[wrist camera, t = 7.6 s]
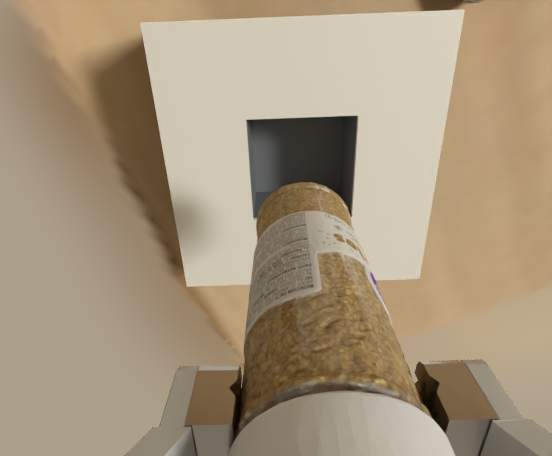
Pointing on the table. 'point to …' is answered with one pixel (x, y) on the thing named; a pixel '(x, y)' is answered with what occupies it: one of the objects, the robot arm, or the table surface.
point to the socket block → (302, 127)
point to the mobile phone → (472, 1)
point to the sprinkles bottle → (323, 343)
